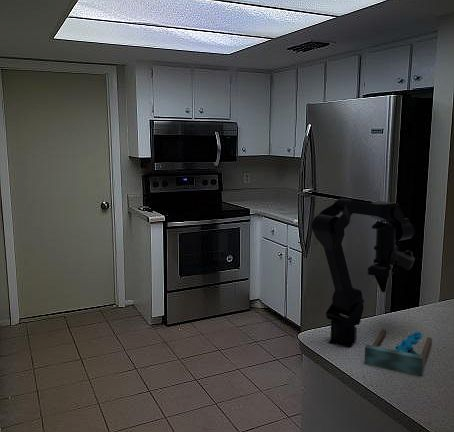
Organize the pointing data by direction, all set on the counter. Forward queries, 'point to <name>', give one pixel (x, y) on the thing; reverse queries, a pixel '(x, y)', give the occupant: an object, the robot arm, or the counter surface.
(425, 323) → the counter surface
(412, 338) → the blue irregular piece
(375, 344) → the guide channel
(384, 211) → the robot arm
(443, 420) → the counter surface
